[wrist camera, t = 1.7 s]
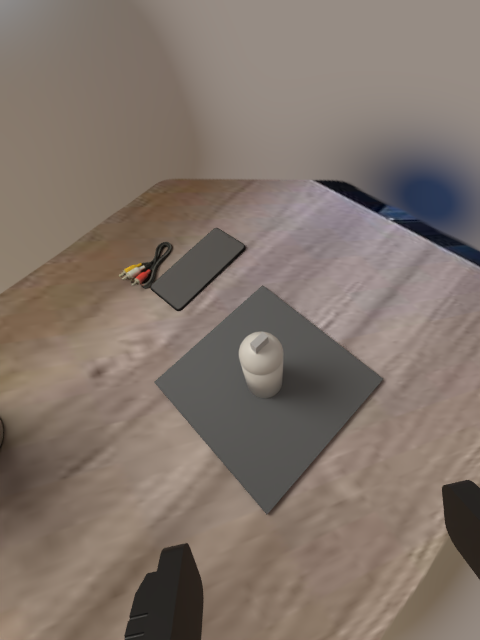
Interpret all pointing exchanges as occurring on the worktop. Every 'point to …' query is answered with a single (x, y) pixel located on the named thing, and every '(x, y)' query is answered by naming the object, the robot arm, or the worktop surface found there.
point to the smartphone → (197, 268)
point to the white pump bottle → (262, 363)
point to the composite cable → (146, 268)
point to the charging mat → (268, 413)
